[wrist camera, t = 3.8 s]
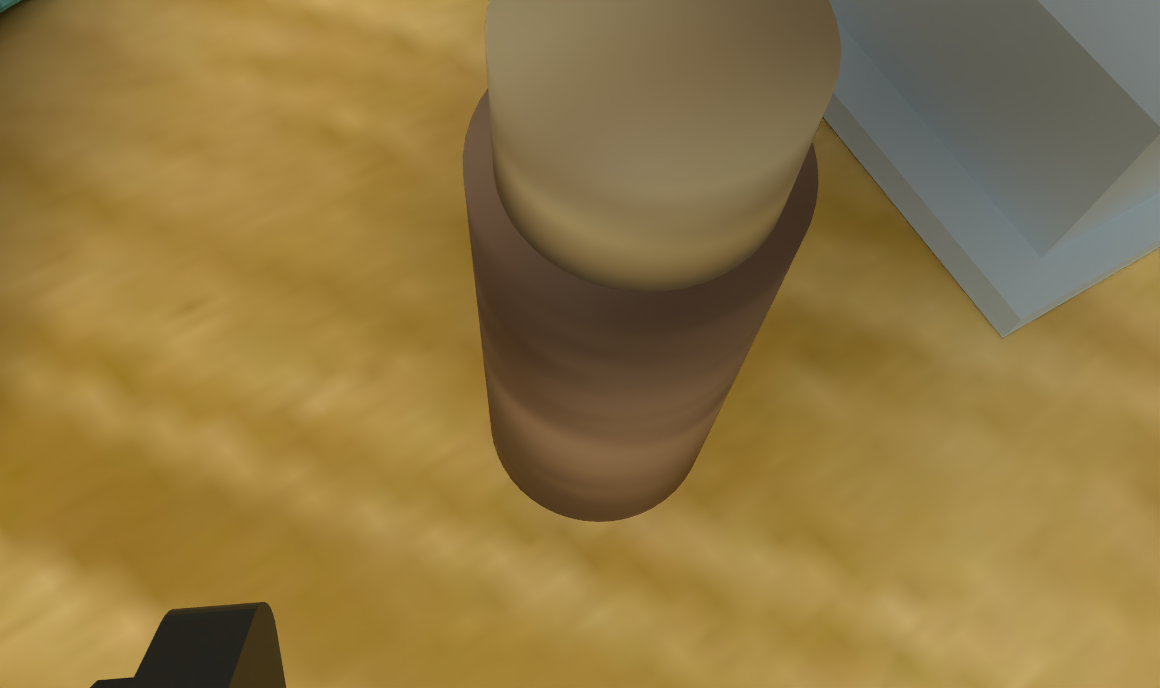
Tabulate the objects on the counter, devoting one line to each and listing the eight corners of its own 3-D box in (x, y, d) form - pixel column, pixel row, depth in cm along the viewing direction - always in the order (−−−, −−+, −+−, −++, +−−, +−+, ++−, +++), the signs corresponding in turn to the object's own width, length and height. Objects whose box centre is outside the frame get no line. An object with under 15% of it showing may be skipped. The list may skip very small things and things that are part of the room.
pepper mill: (453, 379, 23) (375, -37, 11) (632, 289, 24) (723, -170, 13) (557, 561, 21) (587, 288, 10) (743, 456, 22) (964, 102, 11)
